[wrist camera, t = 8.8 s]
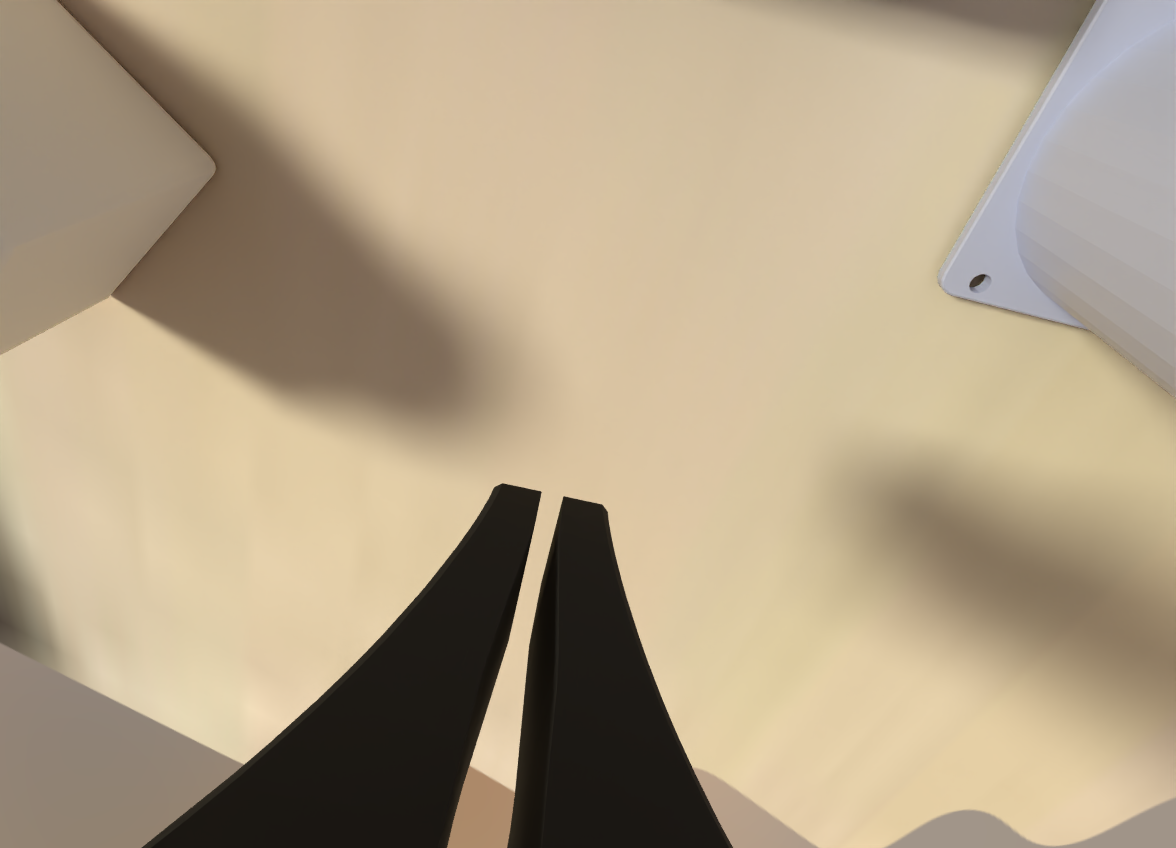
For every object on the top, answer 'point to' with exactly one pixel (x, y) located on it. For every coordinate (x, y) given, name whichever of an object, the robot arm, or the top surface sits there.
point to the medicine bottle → (78, 170)
